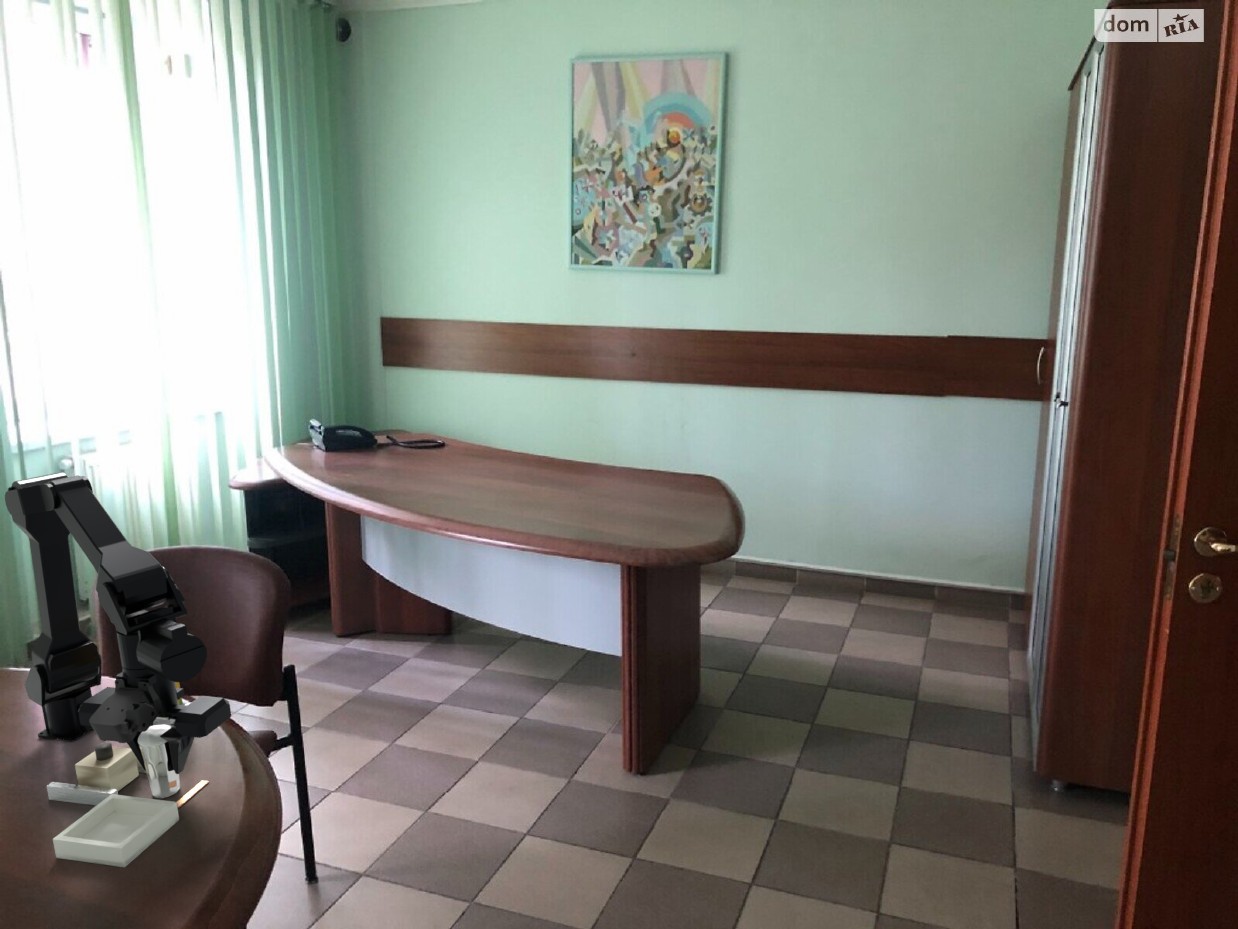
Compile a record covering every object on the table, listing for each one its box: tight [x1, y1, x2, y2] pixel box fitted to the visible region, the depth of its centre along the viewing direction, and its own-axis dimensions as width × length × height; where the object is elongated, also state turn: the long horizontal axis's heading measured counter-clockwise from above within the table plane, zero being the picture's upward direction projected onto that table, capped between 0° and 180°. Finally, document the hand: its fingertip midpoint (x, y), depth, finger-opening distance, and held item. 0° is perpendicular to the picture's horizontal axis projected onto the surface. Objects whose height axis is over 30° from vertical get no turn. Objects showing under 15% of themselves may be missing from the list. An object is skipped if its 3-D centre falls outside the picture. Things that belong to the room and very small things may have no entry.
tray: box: [52, 794, 180, 868], centre depth 117 cm, size 10×10×2 cm
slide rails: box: [46, 758, 210, 809], centre depth 128 cm, size 18×9×2 cm, turn 76°
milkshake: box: [138, 724, 181, 799], centre depth 126 cm, size 5×5×10 cm
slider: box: [74, 742, 140, 792], centre depth 129 cm, size 5×5×6 cm
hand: (163, 770), depth 127 cm, fingers closed on milkshake, 4 cm apart
